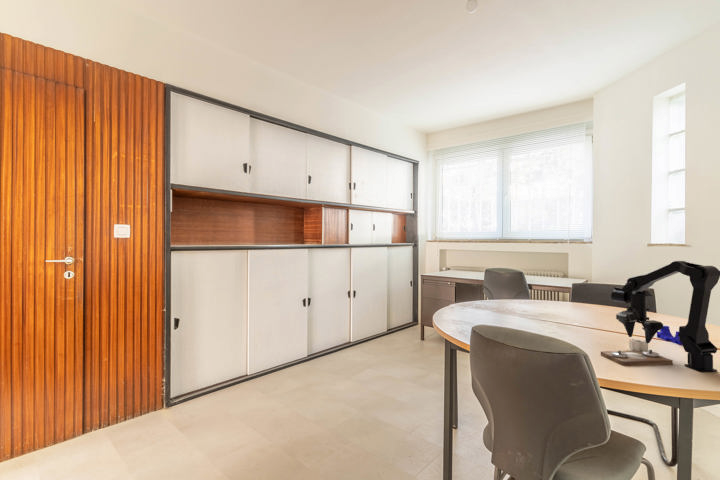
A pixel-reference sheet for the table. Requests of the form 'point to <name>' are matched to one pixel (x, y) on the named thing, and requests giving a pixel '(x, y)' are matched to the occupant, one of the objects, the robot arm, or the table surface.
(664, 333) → the blue bracket
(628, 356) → the gear board
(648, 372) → the table surface
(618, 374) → the table surface
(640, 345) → the loose gear
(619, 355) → the gear peg base
